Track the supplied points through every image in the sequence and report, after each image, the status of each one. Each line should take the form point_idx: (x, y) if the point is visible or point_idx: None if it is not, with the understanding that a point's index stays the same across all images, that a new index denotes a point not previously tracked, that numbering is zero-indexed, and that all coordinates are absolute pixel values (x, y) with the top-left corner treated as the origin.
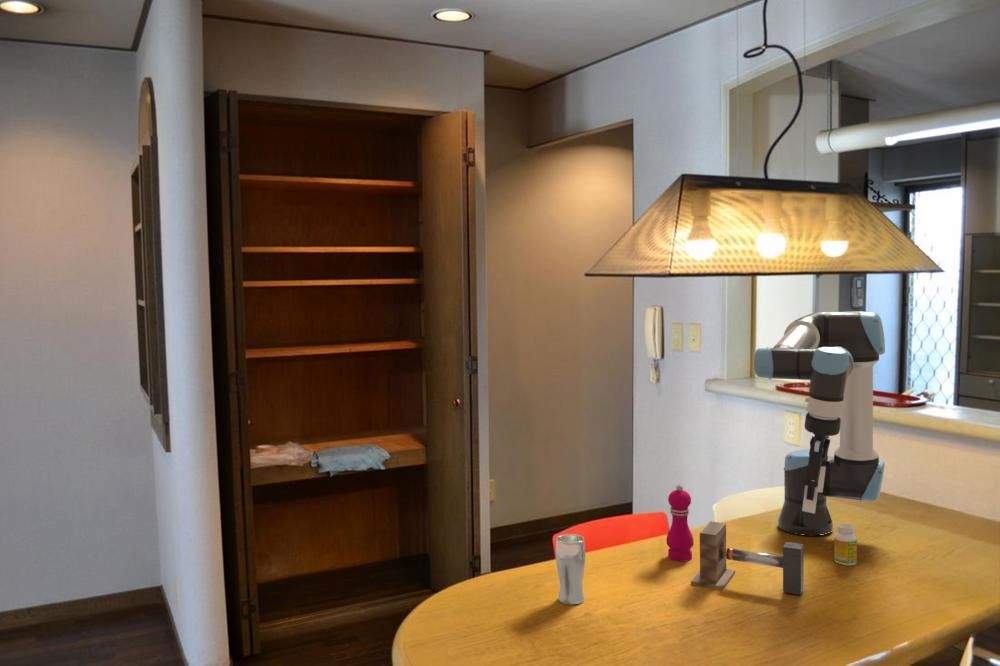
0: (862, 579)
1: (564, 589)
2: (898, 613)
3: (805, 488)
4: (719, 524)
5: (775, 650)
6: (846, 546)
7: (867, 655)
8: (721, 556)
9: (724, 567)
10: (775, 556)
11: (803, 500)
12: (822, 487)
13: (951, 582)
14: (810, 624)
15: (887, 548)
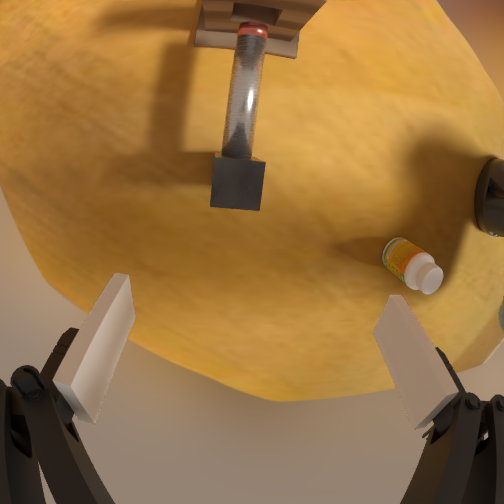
0: (329, 280)
1: None
2: (203, 328)
3: (65, 360)
4: None
5: (12, 181)
6: (399, 269)
7: (54, 288)
8: (275, 20)
9: (277, 35)
10: (233, 134)
11: (94, 306)
12: (380, 348)
13: (337, 371)
14: (100, 213)
15: (440, 300)
